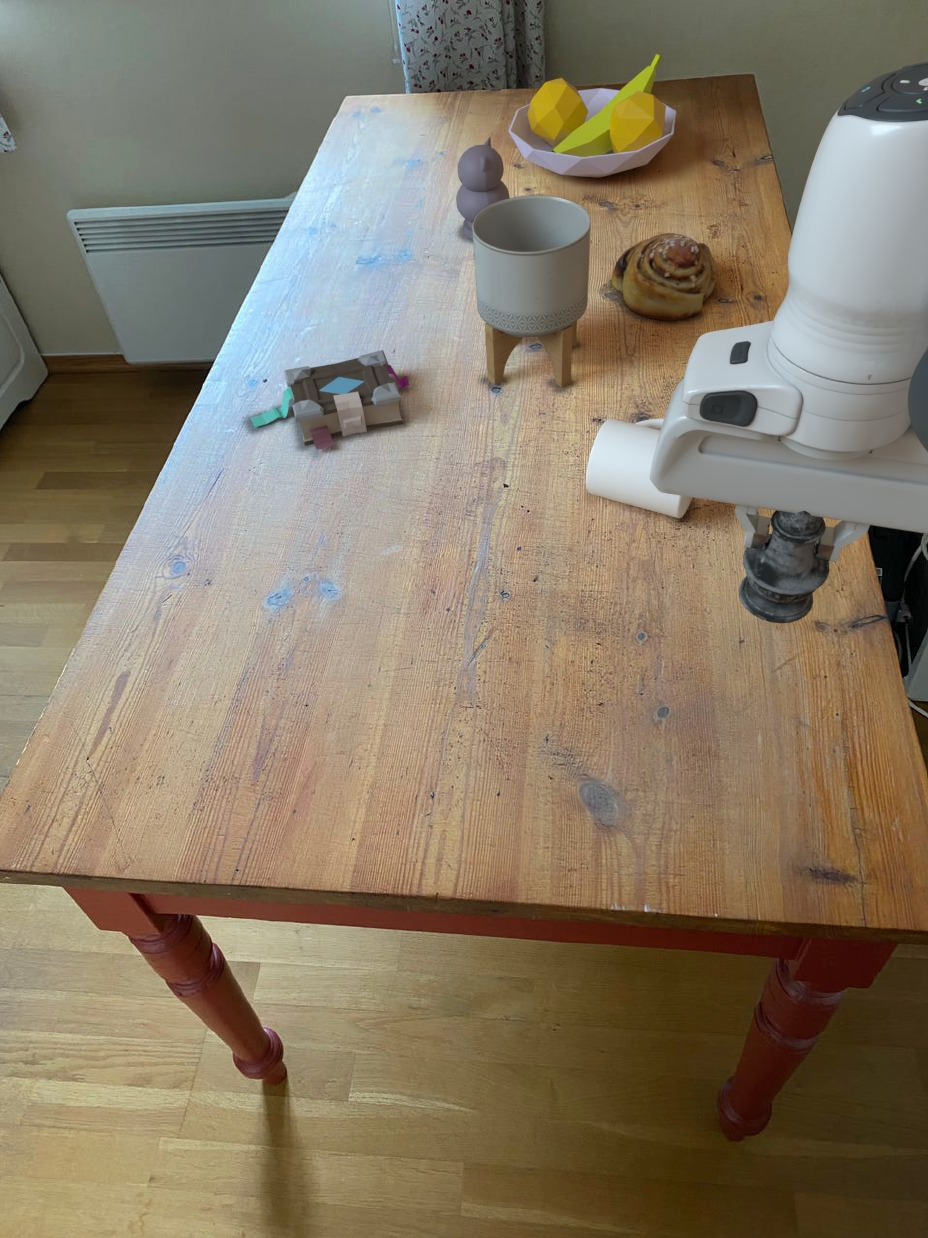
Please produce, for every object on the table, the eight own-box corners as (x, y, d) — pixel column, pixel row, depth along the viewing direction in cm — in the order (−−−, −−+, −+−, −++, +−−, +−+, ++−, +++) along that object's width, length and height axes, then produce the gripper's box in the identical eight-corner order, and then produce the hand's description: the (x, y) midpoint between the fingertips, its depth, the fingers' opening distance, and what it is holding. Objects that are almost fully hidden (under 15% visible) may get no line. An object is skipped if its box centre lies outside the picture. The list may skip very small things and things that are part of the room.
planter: (540, 321, 117) (540, 183, 103) (606, 364, 109) (615, 223, 96) (460, 359, 112) (449, 221, 99) (524, 407, 105) (521, 265, 92)
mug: (675, 534, 90) (685, 474, 84) (583, 508, 94) (586, 448, 87) (710, 462, 97) (721, 402, 91) (623, 440, 100) (628, 380, 94)
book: (259, 467, 101) (248, 432, 97) (247, 406, 109) (237, 371, 105) (428, 429, 104) (423, 393, 100) (404, 371, 111) (400, 336, 108)
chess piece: (820, 575, 66) (866, 449, 57) (813, 634, 63) (861, 510, 54) (739, 560, 68) (771, 434, 59) (729, 617, 64) (761, 493, 55)
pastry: (653, 330, 114) (659, 271, 107) (594, 277, 123) (597, 220, 116) (740, 301, 116) (751, 243, 110) (677, 252, 125) (684, 195, 119)
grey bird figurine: (460, 217, 136) (454, 134, 127) (512, 215, 135) (509, 132, 126) (455, 245, 131) (449, 161, 122) (509, 244, 130) (506, 159, 121)
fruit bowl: (561, 212, 135) (562, 133, 126) (484, 147, 152) (481, 74, 143) (716, 166, 141) (728, 88, 133) (627, 109, 158) (632, 37, 149)
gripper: (1033, 372, 51) (949, 542, 61) (673, 332, 56) (652, 495, 66) (1043, 441, 47) (951, 609, 58) (656, 391, 52) (637, 555, 63)
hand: (789, 548), depth 62 cm, fingers closed on chess piece, 3 cm apart
